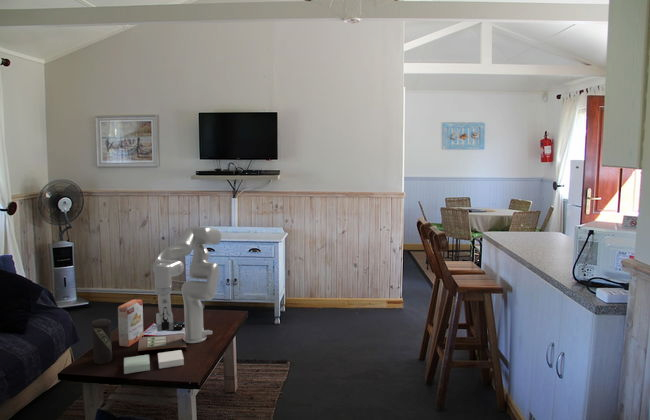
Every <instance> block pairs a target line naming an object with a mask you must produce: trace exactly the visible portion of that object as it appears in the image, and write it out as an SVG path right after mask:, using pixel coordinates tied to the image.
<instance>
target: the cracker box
mask: <svg viewBox="0 0 650 420" xmlns="http://www.w3.org/2000/svg"><path fill="white" fill-rule="evenodd" d="M143 311H144V309H143V299H134V298H133V299H131V300H129V301H128V302H125V303H123V304H121V305H119V306H118V307H117V320H118V325H117V326H118V343H119V344H118V345H119V347H128V348H129V347H131V346H132V345H133V344H135V343H136V342H138V341H139V338H140V337H142V336H143V337H144V312H143Z"/></svg>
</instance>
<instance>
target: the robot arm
mask: <svg viewBox="0 0 650 420" xmlns="http://www.w3.org/2000/svg"><path fill="white" fill-rule="evenodd" d="M221 240H222V233H221V231H220V230H219V229H218V228H213V227H209V226H195V225H194V226H193V225H192V226H187V227H186V228H185V230H184V231H183V232H182V234H181V235H180V237H179V238H178V240H177V241H176V243H175V244H173V245H171V246H169V247H167V248H165V249H164V250H162V251H161V252H160V253H159V254H158V256H156V258H155V260H154V262H153V265H152V271H153V273H154V294H155V295H156V296H157V302H158V311H159V312H158V313H160V315H161V316H162V330H167V331H170V330H169V320H168V314H169V315H171V312H172V302H171V301H172V300H171V299H172V298H171V294H172V293H173V283H172V280H173V279H172V278H174V277H178V276H181V274H183V273H184V270H185V265H184V263H183V262H182V261H180V260H177V259H181V258H184V257H185V256H188V255H190V254H191V253H192V251H193V253H192V259H191V262H190V267H189V272H188V274H189V277H190V278H191V279H193V280H187V281H185V282H184V283H182V286H181V294H182V299H183V309H184V310H183V312H184V313H183V314H184V335H183V336H185V341H186V342H185V343H186V344H197V343H198V344H199V343H202V342H204V341H205V340H206V339H207V335H213V330H210V329H204V307H203V304H202V301H211V300H213V299H214V298H215V296H216V295H215V294H216V292H217V286H218V283H219V279H220V273H221V271H220V266H219V264H218V263H217V262H213V261H209V259H210V252H209V250H208V249H207V247H206V245H210V246H216V245H218V244H220V242H221ZM201 280H202V281H201ZM163 314H164V315H163ZM163 317H164V318H163Z"/></svg>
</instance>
